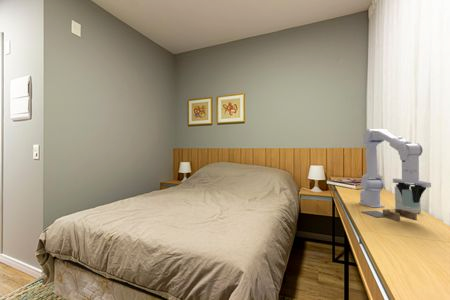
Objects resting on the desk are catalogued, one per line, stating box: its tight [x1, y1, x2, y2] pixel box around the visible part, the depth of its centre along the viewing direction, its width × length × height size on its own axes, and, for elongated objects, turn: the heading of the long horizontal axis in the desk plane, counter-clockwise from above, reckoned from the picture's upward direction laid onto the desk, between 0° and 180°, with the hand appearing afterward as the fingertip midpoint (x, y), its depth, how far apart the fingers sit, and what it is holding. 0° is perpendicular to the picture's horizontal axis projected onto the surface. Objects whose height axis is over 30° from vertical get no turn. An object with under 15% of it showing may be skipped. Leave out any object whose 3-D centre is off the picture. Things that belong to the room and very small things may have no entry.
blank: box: [402, 189, 419, 207], centre depth 91 cm, size 4×4×7 cm
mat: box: [360, 210, 388, 219], centre depth 101 cm, size 9×9×1 cm
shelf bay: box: [382, 208, 418, 222], centre depth 96 cm, size 8×10×3 cm
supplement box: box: [394, 185, 422, 214], centre depth 107 cm, size 7×7×13 cm
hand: (410, 201), depth 91 cm, fingers closed on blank, 4 cm apart
